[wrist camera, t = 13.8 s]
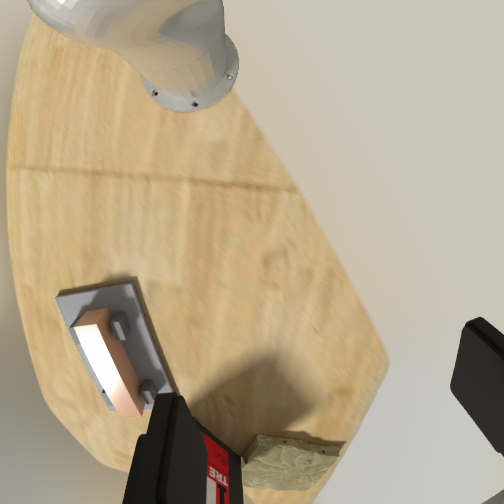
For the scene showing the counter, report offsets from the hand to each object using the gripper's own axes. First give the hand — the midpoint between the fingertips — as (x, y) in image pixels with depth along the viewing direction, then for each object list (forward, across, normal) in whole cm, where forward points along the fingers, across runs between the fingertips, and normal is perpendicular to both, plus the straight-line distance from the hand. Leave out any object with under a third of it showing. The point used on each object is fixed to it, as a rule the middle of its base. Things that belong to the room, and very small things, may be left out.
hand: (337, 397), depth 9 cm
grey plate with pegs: (+34, +26, +19) cm, 47 cm away
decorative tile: (+35, +3, +55) cm, 65 cm away
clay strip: (+33, +26, +19) cm, 46 cm away
